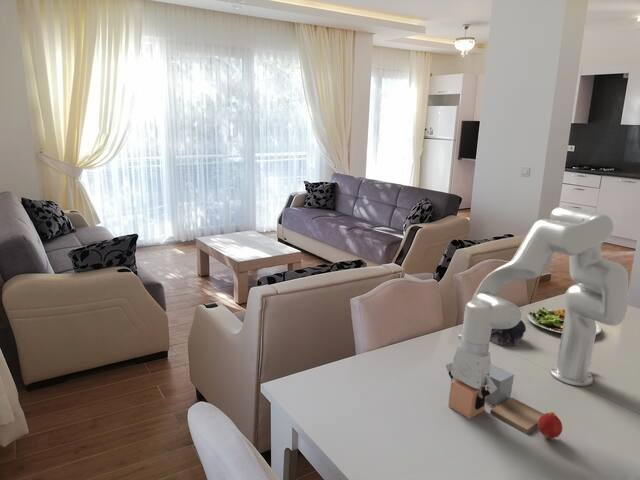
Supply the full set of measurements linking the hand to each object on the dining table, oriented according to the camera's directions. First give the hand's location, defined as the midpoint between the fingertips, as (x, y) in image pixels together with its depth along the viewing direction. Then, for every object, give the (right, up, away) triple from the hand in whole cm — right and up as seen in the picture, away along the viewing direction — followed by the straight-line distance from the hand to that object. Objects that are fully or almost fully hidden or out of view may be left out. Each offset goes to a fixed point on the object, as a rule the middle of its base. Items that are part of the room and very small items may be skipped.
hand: (467, 400), depth 137 cm
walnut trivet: (+14, -4, -2) cm, 14 cm away
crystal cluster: (+29, +8, +47) cm, 56 cm away
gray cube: (+10, -1, +7) cm, 12 cm away
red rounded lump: (+18, -6, -11) cm, 22 cm away
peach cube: (0, -2, +1) cm, 2 cm away
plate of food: (+59, +10, +62) cm, 86 cm away
